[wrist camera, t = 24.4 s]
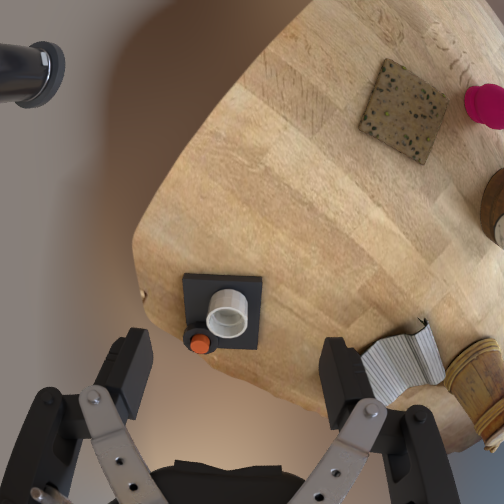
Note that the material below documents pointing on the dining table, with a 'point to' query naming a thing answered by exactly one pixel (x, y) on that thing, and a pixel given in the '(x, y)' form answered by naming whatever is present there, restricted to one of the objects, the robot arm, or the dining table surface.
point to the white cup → (227, 313)
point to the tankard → (480, 389)
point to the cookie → (404, 111)
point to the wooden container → (494, 209)
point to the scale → (197, 304)
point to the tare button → (200, 343)
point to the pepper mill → (486, 105)
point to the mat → (402, 363)
